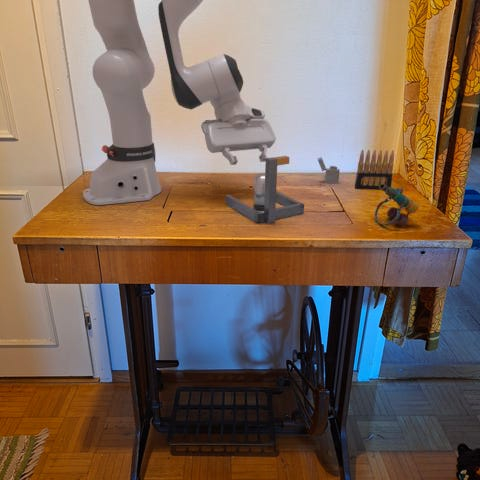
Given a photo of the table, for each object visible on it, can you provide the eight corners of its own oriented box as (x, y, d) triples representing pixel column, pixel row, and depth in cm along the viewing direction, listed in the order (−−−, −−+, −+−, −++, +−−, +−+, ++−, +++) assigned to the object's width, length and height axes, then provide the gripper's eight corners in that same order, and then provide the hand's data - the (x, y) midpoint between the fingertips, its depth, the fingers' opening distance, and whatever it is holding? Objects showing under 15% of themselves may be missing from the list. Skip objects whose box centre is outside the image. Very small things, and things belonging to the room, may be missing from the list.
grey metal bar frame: (260, 225, 107) (262, 161, 101) (225, 203, 122) (225, 146, 115) (307, 215, 114) (311, 154, 107) (269, 195, 128) (271, 140, 122)
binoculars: (399, 238, 106) (426, 204, 104) (372, 220, 103) (399, 185, 101) (382, 223, 115) (407, 192, 112) (356, 207, 112) (381, 174, 109)
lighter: (337, 181, 141) (340, 157, 138) (338, 183, 140) (340, 158, 137) (315, 181, 142) (317, 156, 139) (315, 182, 141) (317, 157, 137)
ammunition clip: (389, 188, 136) (395, 149, 131) (390, 190, 134) (396, 150, 129) (354, 187, 136) (359, 148, 131) (355, 189, 135) (360, 150, 130)
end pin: (259, 212, 116) (260, 179, 112) (250, 206, 120) (250, 174, 116) (273, 209, 118) (275, 176, 114) (264, 204, 122) (265, 172, 118)
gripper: (203, 113, 114) (219, 159, 111) (268, 110, 124) (285, 152, 120) (195, 127, 120) (211, 171, 116) (259, 124, 129) (275, 164, 126)
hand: (249, 162), depth 118 cm, fingers open, 8 cm apart
